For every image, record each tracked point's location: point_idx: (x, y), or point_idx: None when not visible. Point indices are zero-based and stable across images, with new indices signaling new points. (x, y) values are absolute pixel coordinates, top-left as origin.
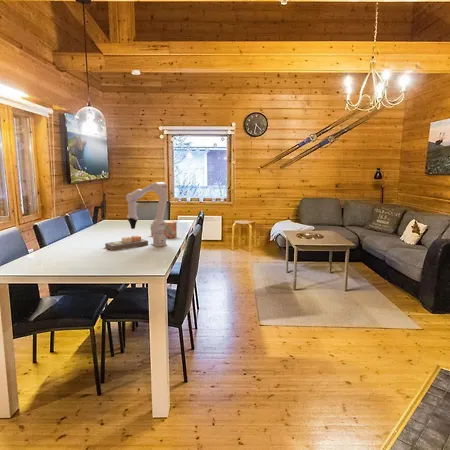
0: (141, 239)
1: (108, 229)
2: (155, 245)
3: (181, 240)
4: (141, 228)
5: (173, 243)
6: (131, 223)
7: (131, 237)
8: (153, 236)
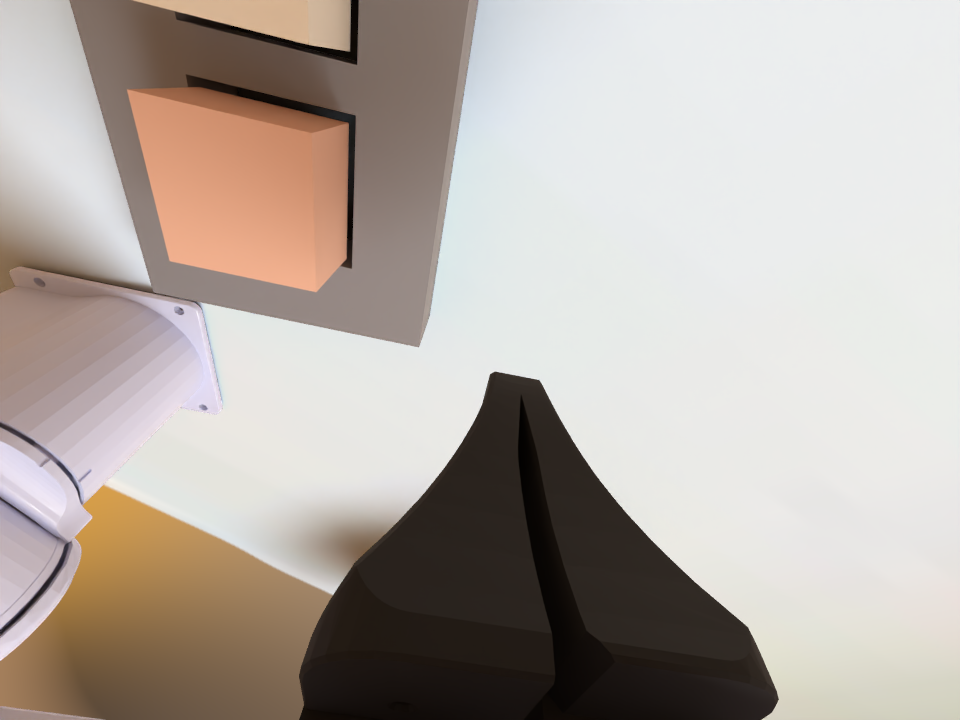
0: (321, 302)
1: None
2: (56, 278)
3: (238, 544)
4: (927, 663)
5: (146, 457)
6: (443, 473)
7: (313, 129)
8: (10, 362)
